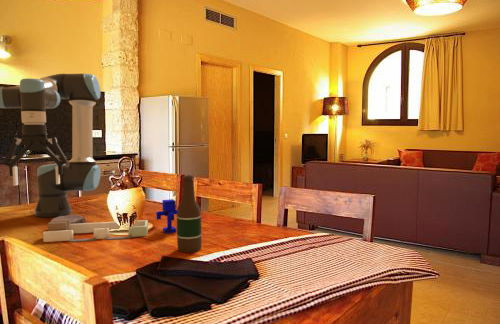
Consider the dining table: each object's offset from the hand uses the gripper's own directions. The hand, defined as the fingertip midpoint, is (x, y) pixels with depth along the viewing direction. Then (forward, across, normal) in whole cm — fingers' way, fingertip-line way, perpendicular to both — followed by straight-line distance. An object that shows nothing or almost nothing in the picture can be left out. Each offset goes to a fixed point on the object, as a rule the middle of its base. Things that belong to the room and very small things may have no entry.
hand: (37, 184), depth 142 cm
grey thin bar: (+20, +21, -6) cm, 30 cm away
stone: (+20, +6, +15) cm, 26 cm away
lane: (+20, +19, 0) cm, 28 cm away
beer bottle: (+20, +51, -25) cm, 60 cm away
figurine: (+20, +45, -1) cm, 49 cm away
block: (+20, +6, +1) cm, 21 cm away
